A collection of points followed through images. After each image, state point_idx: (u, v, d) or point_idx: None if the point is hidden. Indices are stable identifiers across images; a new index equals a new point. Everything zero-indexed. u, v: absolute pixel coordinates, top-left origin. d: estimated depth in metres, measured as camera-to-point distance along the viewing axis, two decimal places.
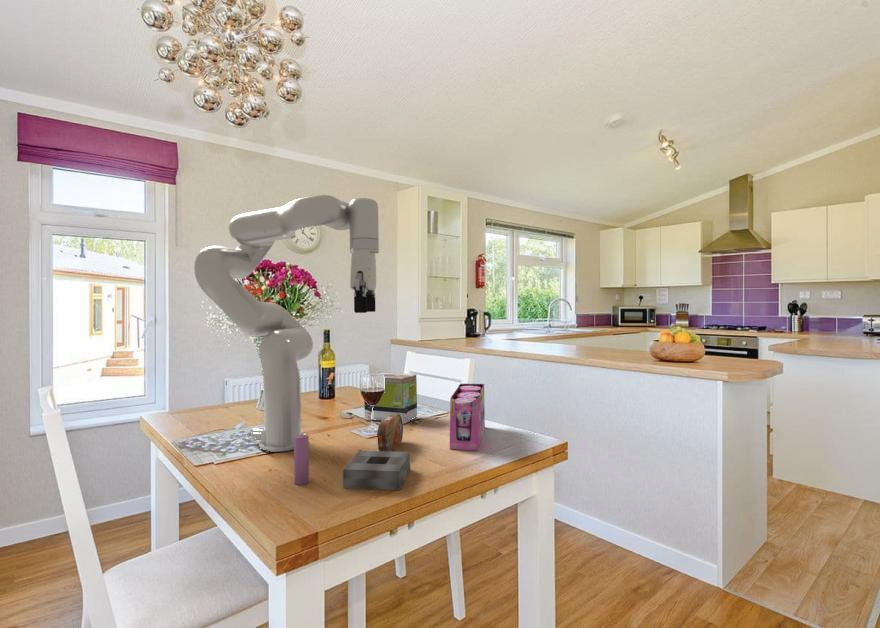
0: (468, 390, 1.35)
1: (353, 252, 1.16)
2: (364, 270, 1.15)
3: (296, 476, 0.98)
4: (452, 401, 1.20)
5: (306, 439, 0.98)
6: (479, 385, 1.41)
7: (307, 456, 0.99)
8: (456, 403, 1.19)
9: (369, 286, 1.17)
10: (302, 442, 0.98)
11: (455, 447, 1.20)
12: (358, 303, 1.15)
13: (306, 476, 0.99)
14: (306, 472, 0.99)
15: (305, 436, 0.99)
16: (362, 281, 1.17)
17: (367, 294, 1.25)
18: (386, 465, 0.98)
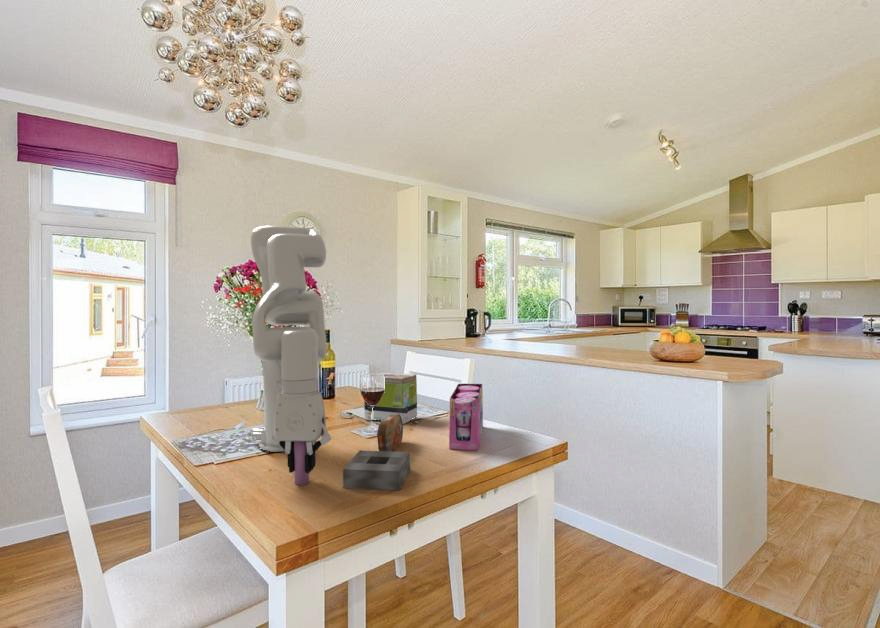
0: (467, 390, 1.35)
1: (315, 397, 0.96)
2: (324, 415, 1.00)
3: (296, 476, 0.98)
4: (452, 401, 1.20)
5: None
6: (477, 385, 1.41)
7: None
8: (456, 403, 1.19)
9: None
10: (302, 442, 0.98)
11: (455, 447, 1.20)
12: (313, 460, 0.99)
13: (306, 476, 0.99)
14: None
15: None
16: None
17: (291, 447, 0.99)
18: (386, 465, 0.98)
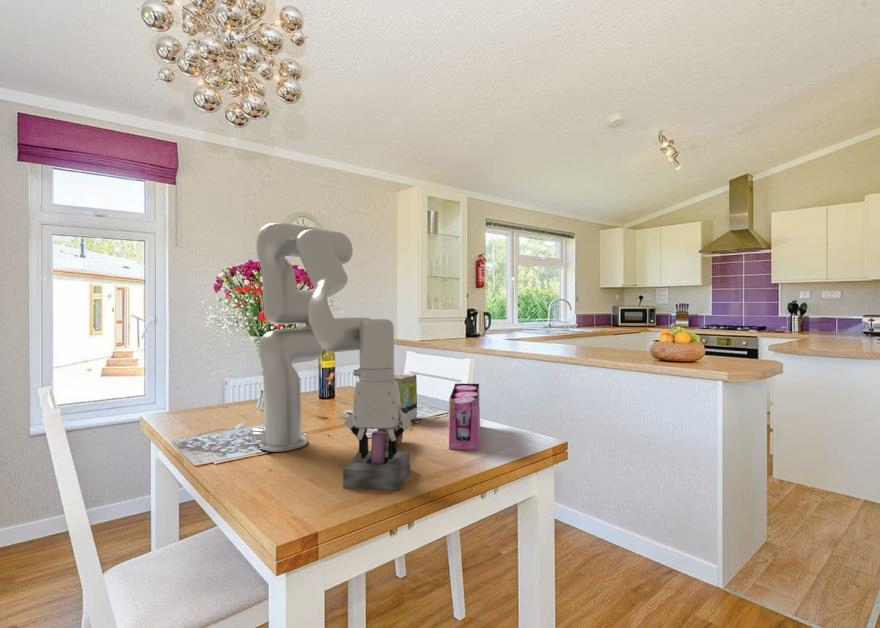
0: (464, 390, 1.35)
1: (394, 385, 0.98)
2: (400, 403, 1.01)
3: None
4: (452, 401, 1.20)
5: (384, 436, 1.00)
6: (474, 385, 1.42)
7: (384, 452, 1.01)
8: (456, 403, 1.19)
9: None
10: (380, 439, 1.00)
11: (454, 447, 1.20)
12: (395, 447, 1.00)
13: None
14: None
15: (383, 433, 1.01)
16: None
17: None
18: (386, 465, 0.98)
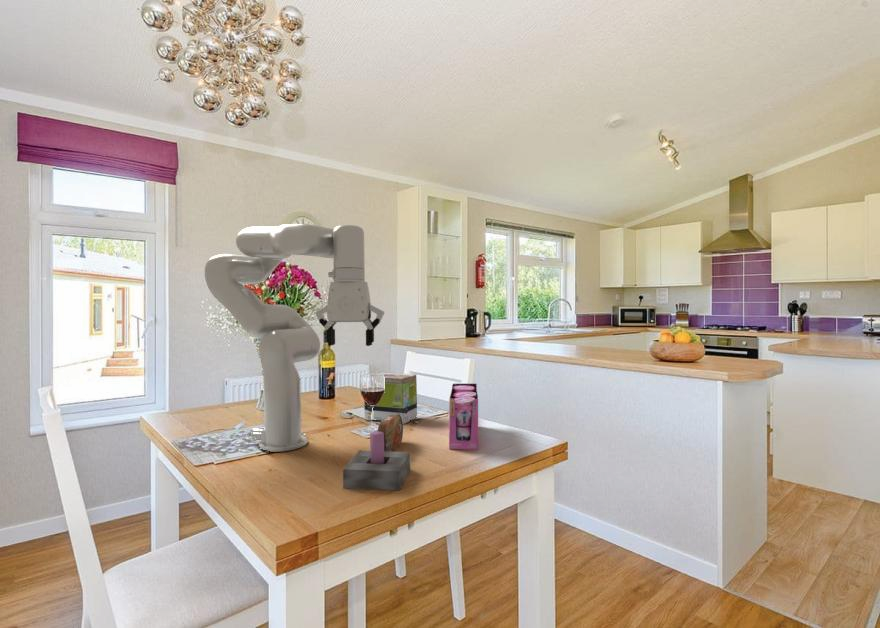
0: (462, 390, 1.35)
1: (363, 283, 1.11)
2: None
3: None
4: (452, 401, 1.20)
5: (382, 436, 1.00)
6: (471, 385, 1.42)
7: (383, 452, 1.01)
8: (456, 403, 1.19)
9: None
10: (379, 439, 1.00)
11: (455, 447, 1.20)
12: (372, 336, 1.13)
13: None
14: None
15: (381, 433, 1.01)
16: None
17: None
18: (386, 465, 0.98)
